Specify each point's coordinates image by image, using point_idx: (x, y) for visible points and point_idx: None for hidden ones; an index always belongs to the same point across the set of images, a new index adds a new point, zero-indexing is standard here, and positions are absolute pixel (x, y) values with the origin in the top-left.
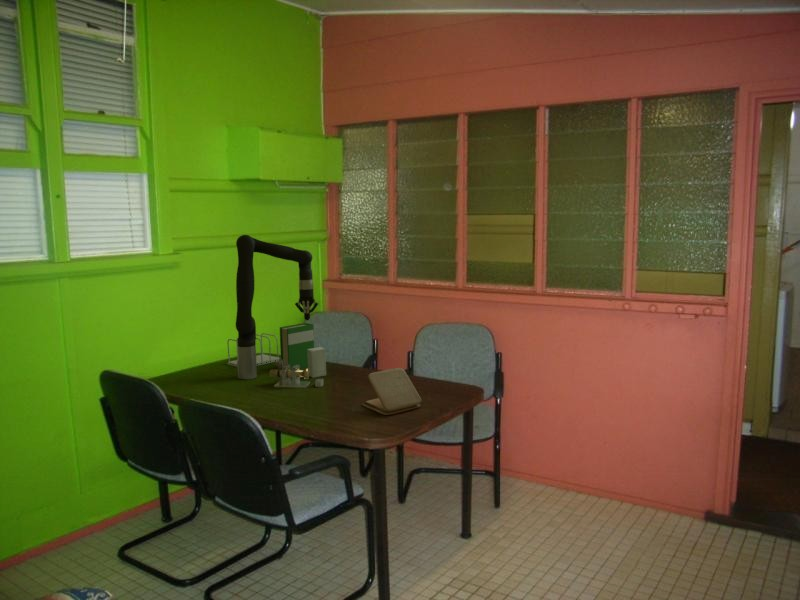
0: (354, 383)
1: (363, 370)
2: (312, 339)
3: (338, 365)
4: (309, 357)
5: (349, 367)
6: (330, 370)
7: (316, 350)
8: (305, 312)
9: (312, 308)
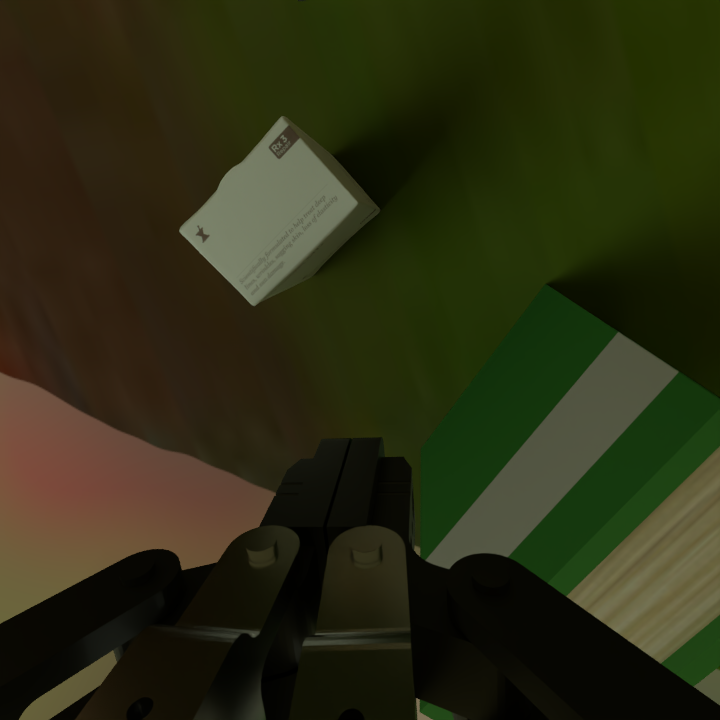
0: (14, 59)
1: (101, 379)
2: (429, 561)
3: (283, 473)
4: (334, 165)
5: (204, 435)
6: (286, 357)
7: (242, 163)
8: (347, 545)
9: (17, 659)
